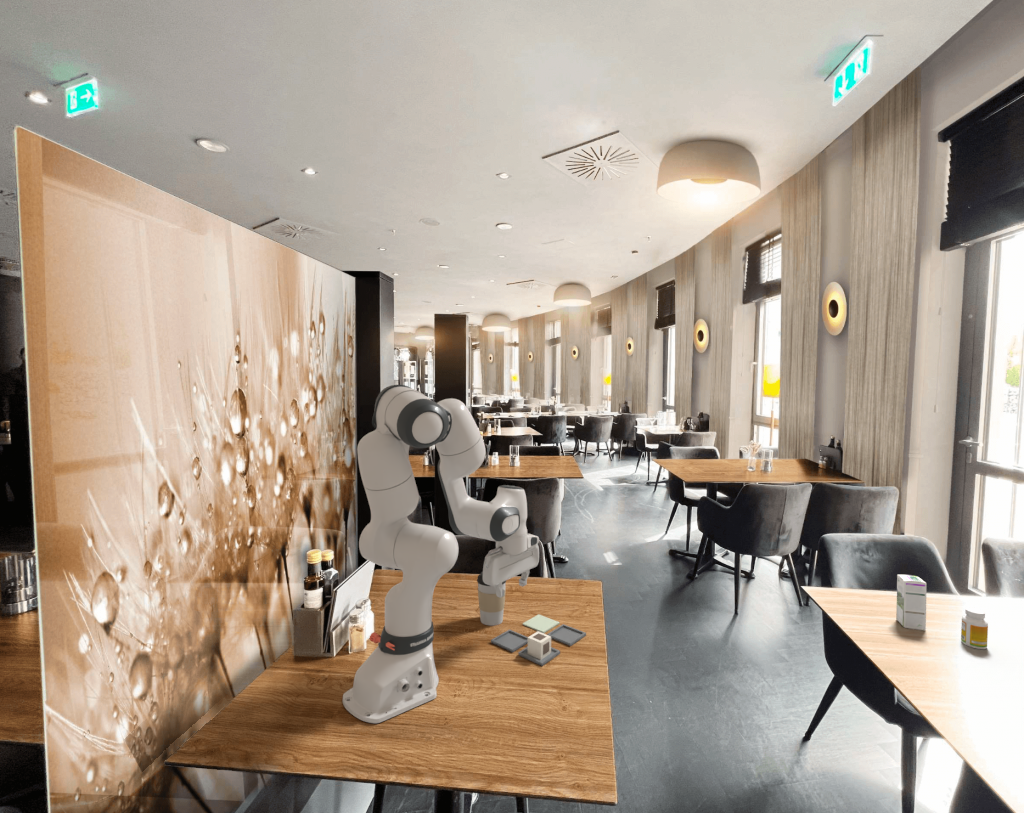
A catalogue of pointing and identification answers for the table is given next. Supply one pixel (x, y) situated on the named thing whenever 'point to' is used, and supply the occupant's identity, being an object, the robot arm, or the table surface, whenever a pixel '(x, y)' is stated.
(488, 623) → the coffee cup
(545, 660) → the tray
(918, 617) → the syrup box
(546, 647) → the letter cube
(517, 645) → the tray
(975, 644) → the supplement bottle
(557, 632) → the tray
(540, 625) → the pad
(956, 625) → the table surface
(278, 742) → the table surface
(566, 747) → the table surface
